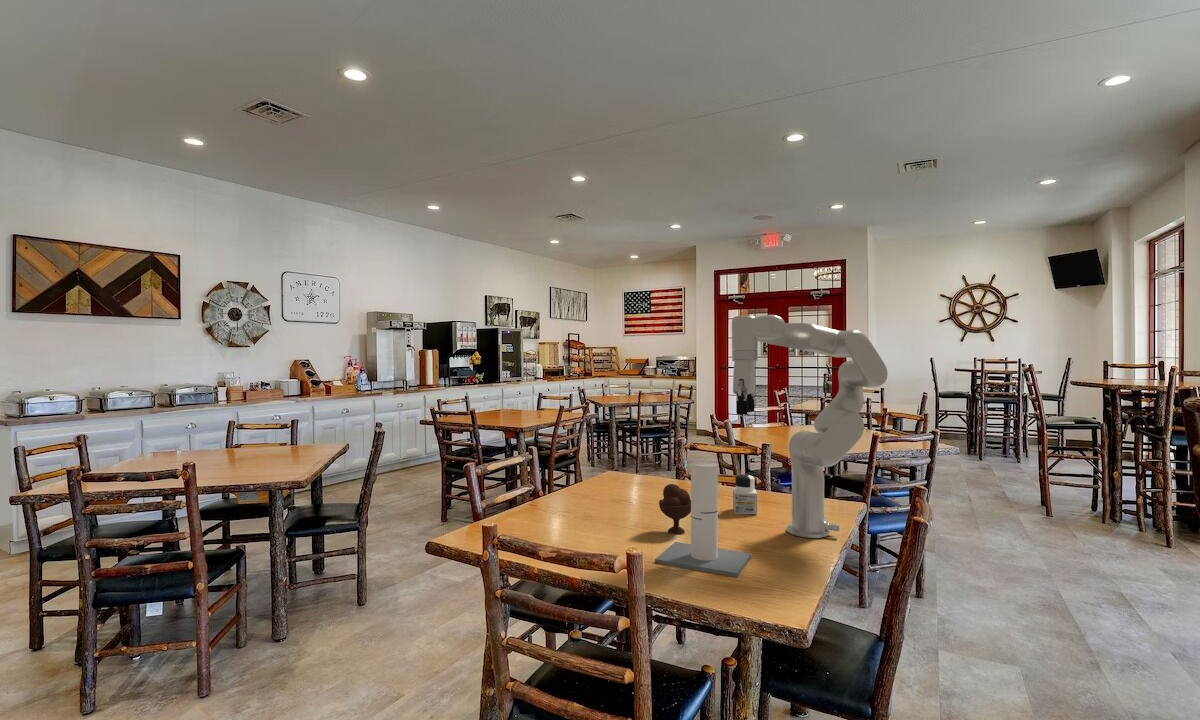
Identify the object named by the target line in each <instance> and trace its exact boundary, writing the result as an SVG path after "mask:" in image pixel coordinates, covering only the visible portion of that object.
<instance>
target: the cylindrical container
mask: <svg viewBox="0 0 1200 720" xmlns="http://www.w3.org/2000/svg"><path fill="white" fill-rule="evenodd" d="M718 467H719V465H718V463H716V462H714V461H713V462H712V461H694V462H691V463H690V500H691V512H690V544H691V556H692V557H693V558H694V559H697V560H703V561H710V560H715V559H717V558H718V548H719V544H718V543H719V542H718V541H719V540H718V539H719V537H718V535H719V534H718V533H719V532H718V531H719V530H718V529H719V528H718V527H719V526H718V525H719V523H718V522H719V521H718V518H719V517H718V516H719V512H718V511H719V510H718V509H719V508H718V505H719V504H718V502H719V500H718V499H719V497H718V496H719V495H718V493H719V492H718V491H719V489H718V488H719V485H718V484H719V482H718V481H719V479H718V478H719V475H718V474H719V473H718V472H719V471H718Z"/></svg>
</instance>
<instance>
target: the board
mask: <svg viewBox="0 0 1200 720" xmlns="http://www.w3.org/2000/svg"><path fill="white" fill-rule="evenodd" d="M751 559H752V552H751V553H750V552H744V551H738V550H732V549H725V548H719V547H718V558H717V559H715V560H710V561H703V560H697V559H694V558H693V557H692V556H691V543H688V542H680V541H674V542H673V543H672V544H670V546H668V547H667V548H666V549H665V550H664V551H663V552H662V553H660V554H659V555H658V556H657V557H656V558H654V563H655V562H657V563H656V564H659V563H662V564H661V565H665V564H666V566H671V565H672V566H671V567H676V566H677V568H682V569H683V568H684V569H688V570H693V571H694V570H695V571H700V572H704V573H705V572H706V573H710V572H711V574H718V575H723V576H728V577H734V578H738V577H739V576H740V574H741V573H742V571H743V570H744V568H746V565H747V564H748V563H749V561H750V560H751Z"/></svg>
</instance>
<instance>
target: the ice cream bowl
mask: <svg viewBox="0 0 1200 720" xmlns="http://www.w3.org/2000/svg"><path fill="white" fill-rule="evenodd" d="M662 496H663V499H659V501H658V506H659V509H660V511H661V512H662V513H663V515H664V516H666V517H667V518H669V519H671V520H672V522H673V526H671V527H670V528H668V530H667V533H668V534H670V535H675V536H676V535H677V536H678V535H683V534H685V533H686V531H685V529H684V528H682V527H680V520H682V519H685V518H686V517H688V516H689V515H691V494H689V492H688V491H687V490H685V489H684V488H681V487H680V486H679V485H677V484H675V483H670V484H667V485H665V486H664V488H663V490H662Z"/></svg>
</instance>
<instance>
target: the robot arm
mask: <svg viewBox="0 0 1200 720" xmlns="http://www.w3.org/2000/svg"><path fill="white" fill-rule="evenodd" d="M758 342H760V343H762V344H763V343H764V344H769V345H773V346H779V347H784V348H790V349H794V350H800V351H806V352H810V353H814V354H818V355H819V354H820V355H823V356H828V357H832V358H833V357H834V358H851V359H849V360H847V361H845V362H843V363H842V364H841V365H840V366H839V368H838V370H837V371H838V372H837V377H838V379H837V380H838V392H837V394H836V395H835V397H833V399H832V400H831V401H830V402H829V403H828V404H827V405H826V406H825V407H824V408H823V409H822V410H821V411H820V412H819V414H818V415H817V416H816V417H815V419H814V422H813V428H814V430H815V431H816V432H815V431H810V430H809V431H808V430H800V431H797V432H796V433H794V434H793V435H792V436H791V438H790V439H789V442H788V454H789V459H790V464H791V523H790V524H788V525H787V526H786V531H787V532H788V533H789V534H791V535H793V536H797V537H800V538H808V539H822V538H823V537H824V538H827V537H828V536H830V534H831V532H830V531H834V532H840V530H841V527H840V526H841V525H840V524H837V523H836V522H828V521H827V517H825V474H824V468H830V467H833V466H835V465H837V464H838V463H839V462H840V461H841V460H842V459H843V458H844V457H845V456H846V455H847V454H848V453H849V451H850V450H851V449H852V448H853V447H854V446H855V445H856V444H857V443H858V442H859V441H860V439H861V438H862V436H863V434H864V430H865V423H864V420H863V418H862V415H860V414H859V413H860V412H861V411H862V409H863V407H864V404H865V397H864V388H873V389H874V388H879V387H881V386H882V385H884V384H885V382H886V381H887V379H888V368H887V366H886V364H885V362H884V360H883V359H882V358H881V355H880V354H879V352H878V351H877V349H876V347H875V346H874V345H873V344H872V341H870V339H869V338H868V337H867V336H866V335H865V334H864V333H863V332H862V331H860V330H857V329H852V330H850V329H849V330H837V329H833V328H829V327H825V326H821V325H817V324H813V323H809V322H808V323H807V322H795V323H790V322H785V320H784V319H783V318H782V317H781V316H778V315H776V314H765V315H758V316H757V315H736V316H734V317H732V319H731V362H734V363H733V371H732V372H733V373H732V374H733V375H732V376H733V377H732V379H733V381H732V393H733V394H734V395H736V399H735V400H736V403H735V405H736V408H735V411H736V412H735V413H736V415H748V413H750V412H755V393H754V392H755V390H756V372H755V371H756V367H755V362H759V360H758V358H759V357H758V356H759V355H758V354H759V352H758V350H759V349H758Z"/></svg>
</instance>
